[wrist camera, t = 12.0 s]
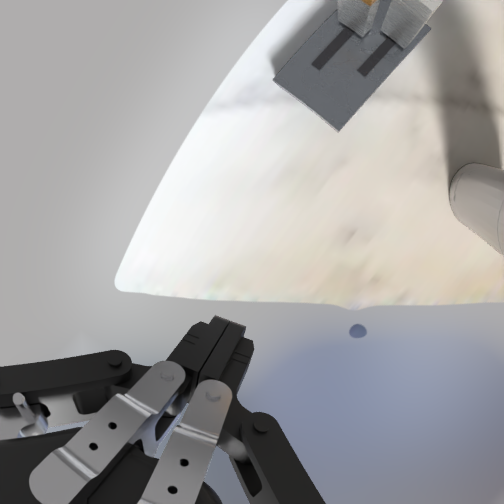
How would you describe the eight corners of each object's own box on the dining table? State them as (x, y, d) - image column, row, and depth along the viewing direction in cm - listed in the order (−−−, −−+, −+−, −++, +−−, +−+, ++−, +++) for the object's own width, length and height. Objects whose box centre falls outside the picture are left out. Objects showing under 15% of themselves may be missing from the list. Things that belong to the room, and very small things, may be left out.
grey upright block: (388, 21, 23) (408, -26, 12) (412, 40, 23) (443, 1, 12) (380, 30, 24) (397, -16, 13) (404, 49, 24) (433, 11, 13)
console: (365, -7, 25) (368, -21, 21) (424, 36, 25) (433, 26, 22) (278, 85, 34) (271, 79, 30) (338, 132, 34) (338, 131, 31)
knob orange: (347, 10, 24) (349, -40, 13) (371, 27, 24) (385, -19, 13) (337, 20, 25) (336, -30, 14) (362, 37, 25) (373, -8, 14)
